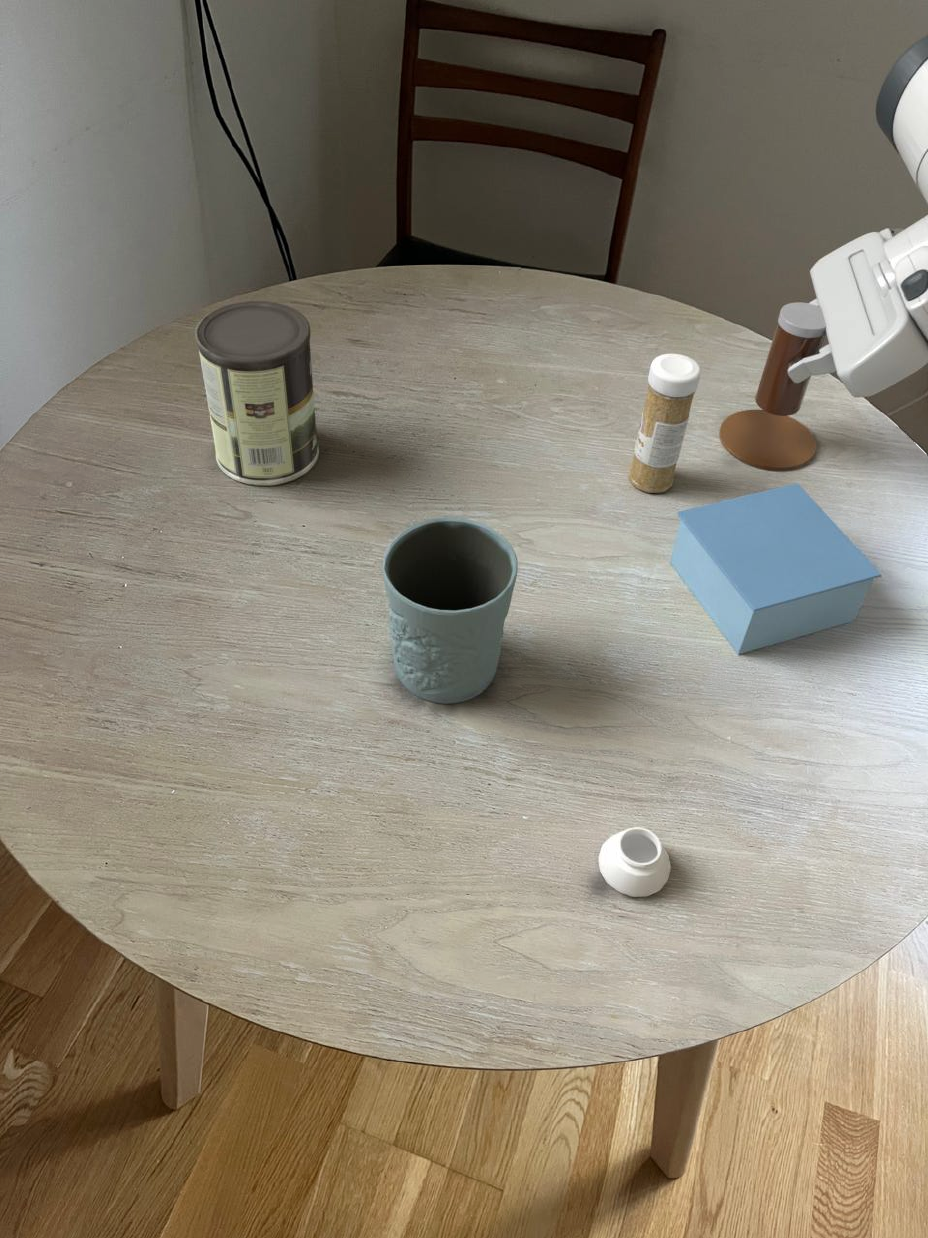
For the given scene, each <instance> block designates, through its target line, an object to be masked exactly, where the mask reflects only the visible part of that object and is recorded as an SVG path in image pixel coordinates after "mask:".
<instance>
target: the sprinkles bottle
mask: <svg viewBox="0 0 928 1238" xmlns="http://www.w3.org/2000/svg"><path fill="white" fill-rule="evenodd" d="M701 373H702V371H701V367H700V365H699V363H698V362H696V361H695V360H694V359H693V358H691V357H689V356H686V355H684V354H680V353H665V354H664V353H663V354H660V355H658V356H657V357H655V358H654V359H653V360H652V361H651V364H650V368H649V373H648V376H647V382H648V387H647V393H646V398H645V401H644V406H643V409H642V414H641V418H640V423H639V427H638V431H637V437H636V441H635V445H634V453H633V457H632V462H631V467H630V469H629V471H628V480H629V482H630V483H631V485H632V486H633V487H634V488H636V489H637V490H639V491H642V492H645V493H650V494H659V493H665V492H666V491H668V490H669V489H670V488H671V487H672V486H673V484H674V474H675V471H676V467H677V462H678V461H679V457H680V454H681V450H682V446H683V442H684V439H685V434H686V430H687V426H688V422H689V419H690V412H691V409H692V408H691V407H692V403H693V399H694V396H695V393H696V391H697V389H698V388H699V387H698V386H699V383H700V379H701V375H702V374H701Z"/></svg>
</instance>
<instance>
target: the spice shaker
mask: <svg viewBox="0 0 928 1238" xmlns="http://www.w3.org/2000/svg"><path fill="white" fill-rule="evenodd" d="M809 303H810V302H803V301H802V302H800V301H799V302H798V301H797V302H795V301H794V302H789V303H786V304H784V305H783V306H782V307H781V309H780V311H779V314H778V317H777V325H776V328H775V331H774V334H773V338H772V341H771V344H770V347H769V351H768V355H767V358H766V361H765V363H764V367H763V371H762V374H761V377H760V381H759V384H758V387H757V391H756V393H755V398H754V399H755V403H756V405H757V406H758V407H759V408H760V410H764V411H766V412H768V413H770V414H774V415H779V416H789V417H790V416H793V415H795V414H797V413H798V412H800V410H801V408H802V404H803V401H804V400H805V396H806V394H807V393H806V392H807V390H808V387H809V384H810V381H811V378H812V376H810V377H809V378H807V379H805V380H803V381H802V382H800V383H794V382H793V381H792V379H791V378H790V377H789V375H788V371H787V363H788V362H789V361H791V360H794V359H795V358H796V357H798V356H800V355H802V356H803V357H804V358H806V357H810V356H813V355H816V354H820V352H819V350H820V349H821V348H823V343H824V340H825V337H826V336H827V334H826V330H825V328H826V323H825V319H824V315H823V312H822V308H820V307H818V306H816V305H813V304H809Z"/></svg>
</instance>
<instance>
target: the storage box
mask: <svg viewBox="0 0 928 1238" xmlns="http://www.w3.org/2000/svg"><path fill="white" fill-rule="evenodd" d="M676 515H677V516H678V517H679V519H680V521H679V525H678V528H677V533H676V536H675V540H674V543H673V547H672V551H671V555H670V558H669V564H670V565H671V567H672V568H673V569H674V570H675V572H676V573H677V574H678V576H679V577H680V579H681V580H682V581H683V582H684V584H685V585H686V587H687V588H688V589H689V591H690V592H691V593H692V595H693V596H694V597H695V599H696V600H697V601H698V603H699V604H700V606H701V607H702V608H703V609H704V611H705V613H707V615H708V616H709V618H710V619H711V620H712V621H713V623H714V624H715V626H716V627H717V628H718V629H719V631H720V632H721V633H722V635H723V636H724V638H725V639H726V641H727V642H728V643H729V644H730V646H731V647H732V649H733V650H734V651H735V653H736V654H737V655H741V654H745V653H748V652H752V651H756V650H760V649H762V648H766V647H770V646H773V645H776V644H779V643H783V642H786V641H791V640H793V639H796V638H800V637H804V636H807V635H810V634H814V633H818V632H821V631H824V630H828V629H832V628H835V627H838V626H842V625H845V624H848V623H852V622H854V621H855V620H856V618H857V616H858V614H859V611H860V610H861V607H862V605H863V603H864V601H865V599H866V597H867V594H868V592H869V590H870V588H871V586H872V584H873V581H874V579H878V578H882V575H883V574H882V572H880V571H879V570H878V569H877V567H876V566H875V565H874V563H872V562H871V561H870V560H869V559H868V557H867V556H866V555H865V554H864V553H863V552H862V551H861V550H860V549H859V548H858V547H857V545H856V544H855V543H853V541H852V540H851V539H850V538H849V537H848V536H847V535H846V534H845V533H844V532H843V530H842V529H841V528H840V527H839V526H838V525H837V524H836V523H835V522H834V521H833V520H832V519H831V518H830V516H829V515H828V514H827V513H826V512H825V511H824V510H823V508H821V507H820V506H819V505H818V504H817V503H816V501H815V500H814V499H813V498H812V497H811V496H810V495H809V494H808V493H807V492H806V491H805V489H804V488H803V487H802V486H801V485H800V484H799V483H798V482H796V483H792V484H787V485H785V486H784V485H783V486H779V487H775V488H771V489H767V490H763V491H759V492H754V493H750V494H746V495H742V496H738V497H734V498H729V499H725V500H722V501H721V500H720V501H716V502H714V503H713V502H712V503H709V504H704V505H700V506H695V507H692V508H688V509H683V510H679V511H677V513H676Z"/></svg>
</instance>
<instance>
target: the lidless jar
mask: <svg viewBox="0 0 928 1238" xmlns="http://www.w3.org/2000/svg"><path fill="white" fill-rule="evenodd" d="M671 865H672V864H671V861H670V856H669V853H668V852H667V850H666V848H665V847H664V845H663V843H662V842H661V841H660V839H659V837H658V835H656V834H655V833H654V832H653V831H652V830H649V829H648V828H645V827H642V826H632V827H629V828H627V829H624V830H622V831H619V832H617V833H615V834H612V835H610V836H609V837H608V838H607V839H606V840H605V842H603V844H602V845H601V849H600V851H599V855H598V866H599V867H598V868H599V872H600V874H601V876H602V877H603V879H604V880H605V882H606V884H608V885H609V886H610V887H611V888H613V889H614V890H615V891H617V892H618V893H619V894H624V895H626V896H630V897H633V898H634V897H635V898H636V897H637V898H638V897H639V898H641V897H649V896H651V895H653V894H655V893H658V892H660V891H661V889H662V888H663V887H664V886H666V884H667V883H668V881H669V877H670V874H671V873H670V872H671V869H672V866H671Z"/></svg>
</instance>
